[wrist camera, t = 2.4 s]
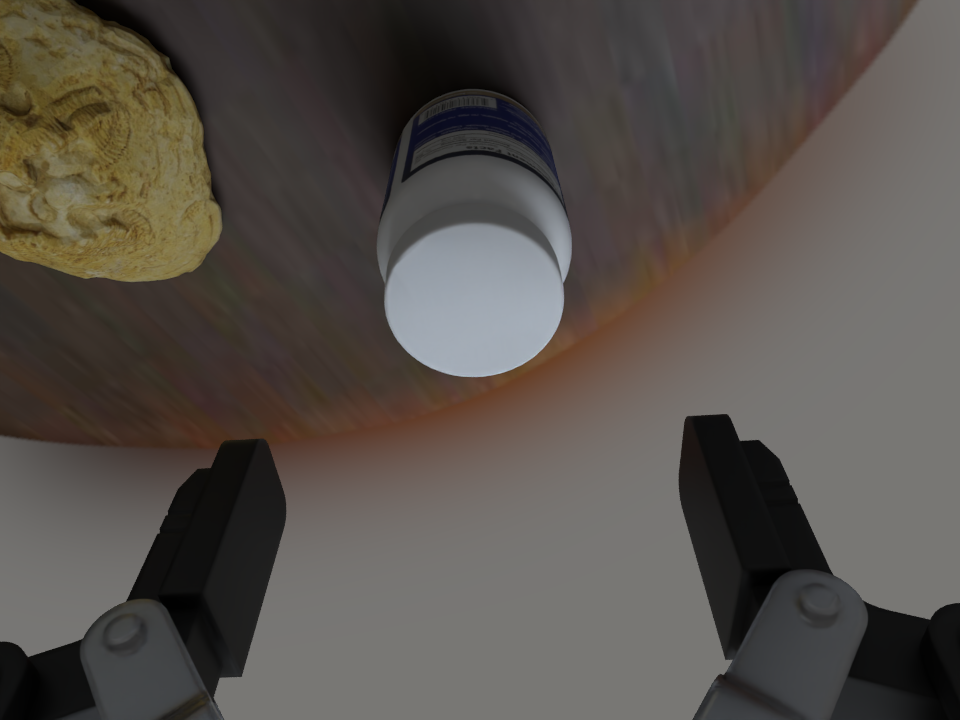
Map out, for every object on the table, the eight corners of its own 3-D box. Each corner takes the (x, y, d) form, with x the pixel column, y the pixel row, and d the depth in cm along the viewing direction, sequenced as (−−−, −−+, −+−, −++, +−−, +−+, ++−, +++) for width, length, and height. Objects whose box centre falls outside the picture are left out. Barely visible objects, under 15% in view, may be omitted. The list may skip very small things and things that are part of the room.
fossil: (200, 173, 21) (71, 391, 26) (290, 133, 26) (169, 320, 31) (-150, -114, 19) (-219, 175, 24) (20, -96, 24) (-64, 139, 29)
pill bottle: (494, 261, 30) (500, 425, 22) (367, 184, 28) (321, 333, 20) (584, 142, 27) (630, 280, 19) (450, 49, 25) (437, 157, 17)
